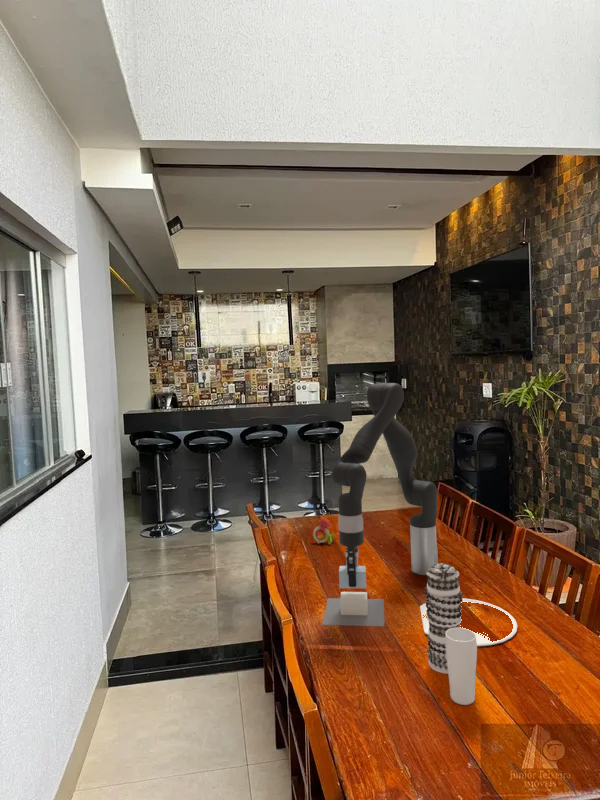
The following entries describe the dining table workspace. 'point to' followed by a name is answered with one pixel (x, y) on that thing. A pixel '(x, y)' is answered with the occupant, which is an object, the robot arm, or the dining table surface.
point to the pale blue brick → (359, 577)
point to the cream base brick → (353, 603)
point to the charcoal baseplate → (371, 619)
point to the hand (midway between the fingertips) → (353, 582)
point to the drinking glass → (461, 664)
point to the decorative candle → (441, 611)
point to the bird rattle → (320, 534)
